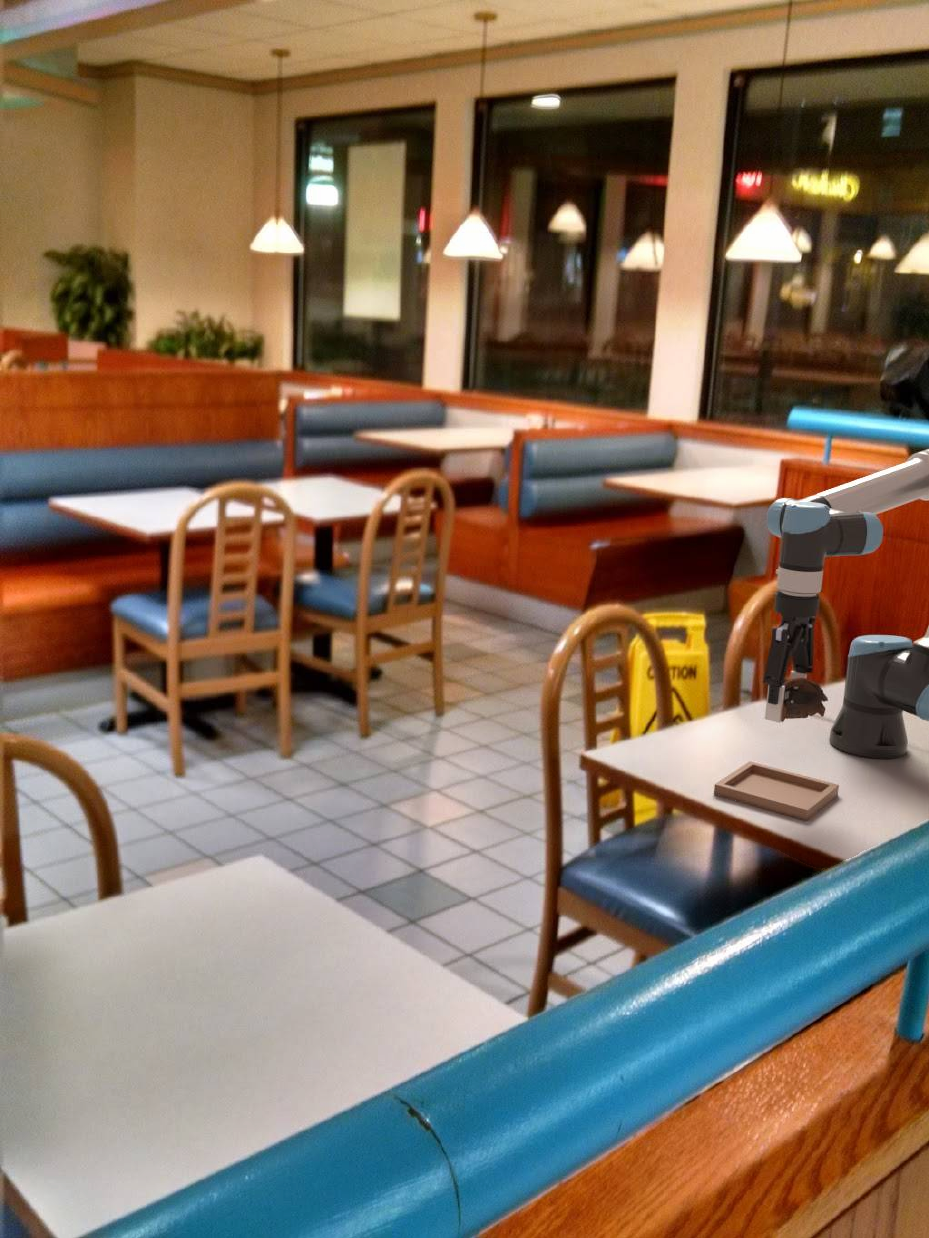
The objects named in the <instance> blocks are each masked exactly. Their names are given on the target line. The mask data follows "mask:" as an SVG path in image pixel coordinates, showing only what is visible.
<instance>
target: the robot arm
mask: <svg viewBox="0 0 929 1238" xmlns="http://www.w3.org/2000/svg"><path fill="white" fill-rule="evenodd" d="M917 500H922V501H929V448H927V449H924V450H921V451H918V452H915V453H913V454H911V455H910V456H909V457H908V458H907V460H906V462H903V463H900V464H897V465H895V466H892V467H888V468H886V469H883V470H880V471H877V472H874V473H873V474H870V475H867V476H863V477H861V478H857V479H854V480H853V481H850V482H847V483H844V484H841V485H838V486H836V487H833V488H830V489H827V490H824V491H822V492H819V493H818V492H817V493H816V494H814V495H813V494H812V495H811V496H810V495H809V496H807V497H804V498H801V499H796V498H792V497H791V498H787V497H782V498H778V499H776V500H775V501H774V502H773V503H772V504H771V505H770V506H769V508H768V510H767V511H766V512H767V513H766V518H765V520H766V526H767V528H768V532H770V533H771V534H772V535H773V536H775V537H778V538H780V549H779V559H778V569H776V570H775V574H776V575H777V578H776V588H777V590H776V591H775V593H774V595H775V597H774V604H773V610H774V612H775V613H776V614H779V615H781V620H780V621H781V622H780V624H779V626H778V627H775V626H774V627H773V628H772V631H771V642H770V646H769V652H768V657H767V661H766V666H765V671H764V674H763V679H762V682H763V683H762V684H765V685H768V686H767V694H766V696H767V697H766V703H765V704H766V705H765V714H764V720H766V721H767V720H768V721H771V722H775V723H779V724H780V723H782V722H781V717H782V708H783V699H784V690H785V686H782V685H783V682H784V679H786V675H787V672H788V668H789V665H790V661H791V658H792V664H793V666H792V667H793V670H791V671H790V677H789V680H791V679H795V678H806V679H808V678H807V677H808V674H813V671H814V668H812V667H813V665H814V637H815V636H814V634H815V633H814V631H815V623H816V622H815V621H816V616H818V614H819V610H820V609H819V607H820V600H821V597H820V595H819V593H820V592H821V591H822V585H823V575H824V565H825V559H826V558H827V557H828V558H829V557H843V556H844V557H845V556H858V557H859V556H861V555H867V554H872V553H874V552H875V551H876V550H877V549H879V548H880V546H881V544H882V543H883V537H884V535H883V534H884V528H883V524H882V522H881V520H880V519H879V517H878V516H877V515H879V514H882V513H884V512H886V511H890V510H892V509H894V508H897V507H900V506H903V505H906V504H908V503H911V502H915V501H917ZM846 664H847V665H846V672H845V673H846V675H845V681H844V682H845V684H844V692H843V702H842V706H841V708H840V710H839V712H838V714H837V716H836V719H835V720H834V722H833V724H832V726H831V728H830V733H829V739H828V741H829V743H830V745H832V746H833V747H834V748H835V749H837V750H840V751H842V752H845V753H848V754H851V755H854V756H859V757H863V758H864V757H865V758H871V759H895V758H896V759H897V758H900V757H902V756H904V755H906V754H907V750H908V745H909V744H908V743H909V741H908V734H907V731H906V725H905V720H904V714H903V712H906V713H908V714H910V715H913V716H915V717H918V718H919V719H921V720H922V721H927V722H929V625H928V627H927V630H926V632H925V635H924V636H923V637H921V638H919V639H916V640H915V641H913V642H912V639H911V638H909V637H907V636H906V637H904V636H900V635H899V636H898V635H891V634H890V635H888V634H867V635H866V634H865V635H860V636H857V637H855V638H854V639H853V640H852V641H851V643H850V646H849V653H848V655H847V663H846ZM794 689H798V687H794ZM791 703H793V700H792V701H791Z"/></svg>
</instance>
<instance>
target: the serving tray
mask: <svg viewBox="0 0 929 1238" xmlns="http://www.w3.org/2000/svg"><path fill="white" fill-rule="evenodd" d="M713 787H714V788H713V795H714V794H715V795H714V796H717V795H719V796H718V797H721V796H722V797H721V798H723V799H724V798H725V799H727V800H730V801H731V800H732V801H735V800H736V801H735V802H738V801H739V802H738V803H741V802H743V804H745V803H746V804H745V805H748V804H749V805H748V806H752V807H756V808H760V809H763V810H767V811H769V812H773V813H776V812H777V814H781V815H784V816H787V817H791V818H794V819H798V820H801V821H805V822H807V821H809V820H810V819H811V818H812V817H813V816H815V815H816V814H817V813H818V812H819V811H820V810H822V809H823V808H824V807H826V805H828V803H830V802H831V801H833V800H834V799H835V798H837V796H838V795H839V790H840V788H839V787H840V785H839V784H836V783H833V782H829V781H826V780H821V779H818V778H814V777H810V776H806V775H802V774H800V773H795V772H791V771H789V770H784V769H781V768H780V769H779V768H777V767H772V766H770V765H769V766H768V765H766V764H761V763H757V762H755V761H750V760H749V761H748V762H746V763H745V764H743V765H741V766H740V767H738V769H735V770H733V772H731V773H729V774H728V775H727V776H725V777H724V778H722V779H721V780H719V781H717V782H716V783H714V786H713Z"/></svg>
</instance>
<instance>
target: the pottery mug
mask: <svg viewBox="0 0 929 1238" xmlns="http://www.w3.org/2000/svg"><path fill="white" fill-rule="evenodd" d="M782 686H785V690H784V699H783V708H782V717H781V722H780V723H784V721H785V720H787V719H788V720H789V719H791V720H793V719H794V720H795V719H808V717H809V716H810V717H812V716H815V715H816V714H818V715H820V716H821V718H823V717H825V716H824V715H825V713H826V707H825V705H824V704H823V702H829V699H828V696H826V694H825V693H824V691H823V688H822V687H821V686H820V685H819V684H818V682H815V681H814V680H811V679H809V678H795V679H791V680H790V679H787V678H785V679H784V682H783V685H782ZM794 687H798V689H794ZM792 700H793V703H791V701H792Z"/></svg>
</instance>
